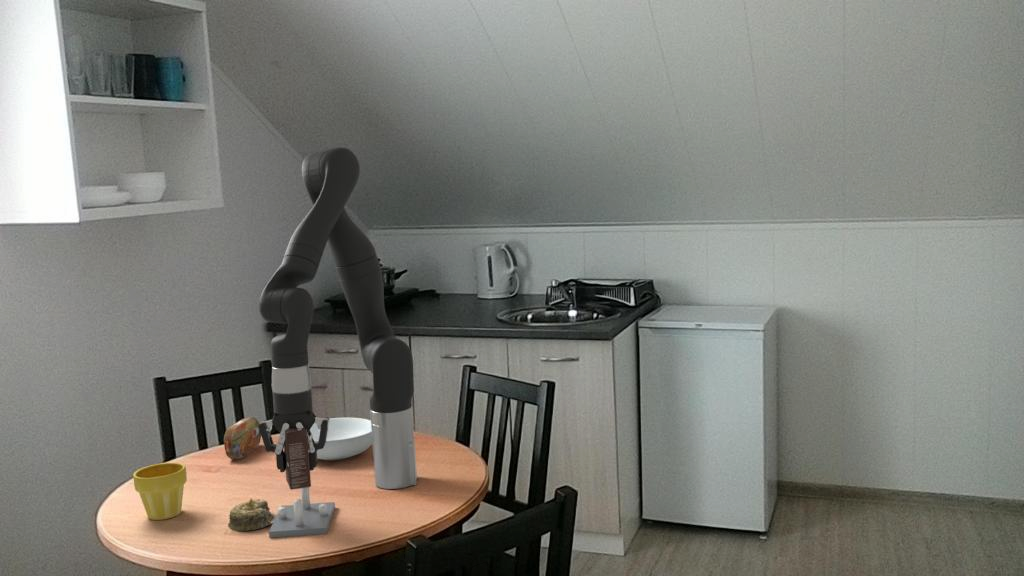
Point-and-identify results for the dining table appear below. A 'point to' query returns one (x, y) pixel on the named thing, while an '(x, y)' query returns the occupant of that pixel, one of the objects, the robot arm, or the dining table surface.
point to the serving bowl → (344, 438)
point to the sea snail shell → (250, 516)
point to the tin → (242, 438)
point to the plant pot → (161, 489)
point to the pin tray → (307, 520)
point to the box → (297, 458)
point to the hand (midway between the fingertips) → (297, 469)
